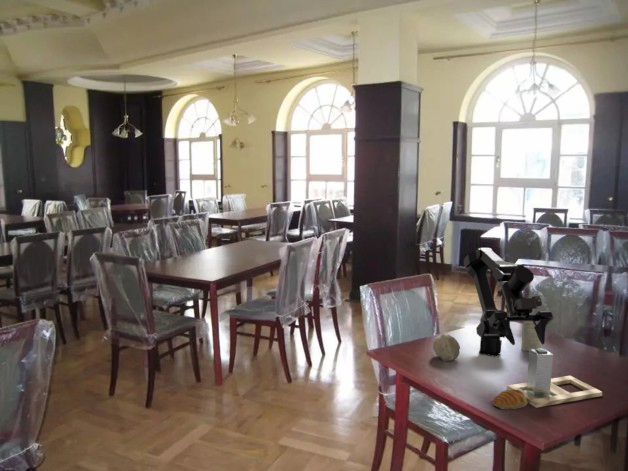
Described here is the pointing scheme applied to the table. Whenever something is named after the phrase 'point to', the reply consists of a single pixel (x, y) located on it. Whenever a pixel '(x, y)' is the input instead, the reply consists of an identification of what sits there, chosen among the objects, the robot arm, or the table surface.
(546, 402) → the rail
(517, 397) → the pastry
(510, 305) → the robot arm
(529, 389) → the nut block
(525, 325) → the skincare box
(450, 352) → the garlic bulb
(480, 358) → the table surface
